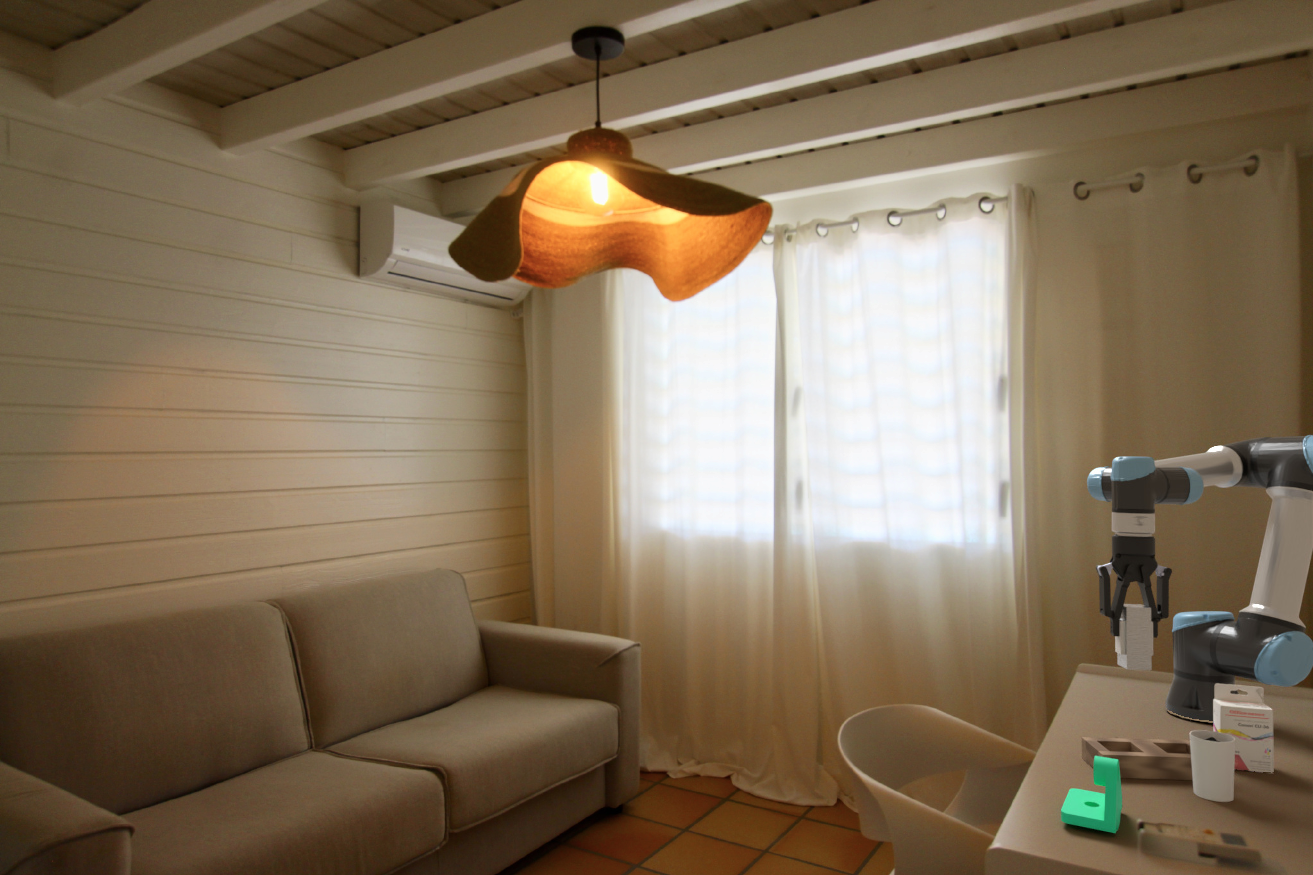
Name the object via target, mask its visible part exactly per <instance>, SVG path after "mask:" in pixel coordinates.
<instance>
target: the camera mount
mask: <svg viewBox="0 0 1313 875" xmlns="http://www.w3.org/2000/svg"><path fill="white" fill-rule="evenodd" d="M1092 769H1093V773H1092V774H1093V784H1094V785H1095V786H1101V787H1105V788H1104V793H1102V792H1097V791H1091V790H1087V789H1086V790H1085V789H1082V788H1069V790H1068V793H1067V795H1066V797H1065V799H1064V802H1063V804H1062V807H1061V809H1060V819H1061V820H1060V821H1061V822H1062V823H1064V824H1067V825H1068V824H1069V825H1073V826H1079V827H1083V828H1087V829H1092V830H1093V829H1094V830H1097V831H1103V832H1108V833H1113V834H1116V833H1117V831H1119V827H1120V825H1121V824H1120V823H1121V813H1122V809H1123V792H1122V782H1121V781H1122V780H1121V778H1120V767H1119V760H1118V759H1112V758H1106V757H1100V756H1095V757H1094V767H1093V768H1092Z"/></svg>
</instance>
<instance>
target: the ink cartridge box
mask: <svg viewBox="0 0 1313 875" xmlns="http://www.w3.org/2000/svg"><path fill="white" fill-rule="evenodd" d="M1236 690H1238V691H1241V692H1245V693H1247V694H1240V693H1239V694H1231V693H1230V691H1236ZM1264 692H1265V688H1264V687H1262V686H1253V685H1243V684H1235V685H1232V684H1219V683H1216V684H1215V686H1214V699H1213V724H1212V725H1213V726H1212V728H1213V730H1212V731H1216V732H1221V733H1225V734H1228V735H1230V736H1232V737H1234V738H1235V764H1234V770H1236V769H1237V770H1238V771H1244V770H1248V771H1247V772H1254V771H1255V772H1256V773H1263V772H1271V773H1270V774H1273V773H1272V772H1274V770H1275V767H1274V766H1275V765H1274V764H1275V763H1274V762H1275V760H1274V758H1275V757H1274V755H1275V753H1274V750H1275V748H1274V746H1275V745H1274V711H1273V710H1274V709H1273V708H1271V707H1270V706H1269V705H1267V704H1266V703H1264V702H1265V701H1264V699H1265V698H1264V697H1265V693H1264ZM1237 770H1236V771H1237Z"/></svg>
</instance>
